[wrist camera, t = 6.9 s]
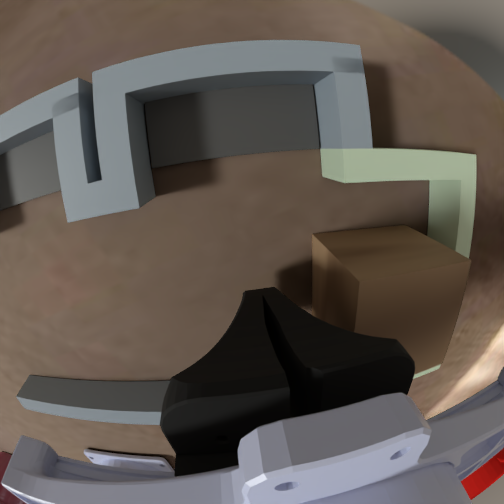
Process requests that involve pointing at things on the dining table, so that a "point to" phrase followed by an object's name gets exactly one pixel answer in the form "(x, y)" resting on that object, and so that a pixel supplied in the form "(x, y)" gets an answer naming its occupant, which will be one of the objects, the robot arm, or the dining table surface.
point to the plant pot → (0, 499)
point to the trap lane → (204, 156)
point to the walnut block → (390, 287)
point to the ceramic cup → (484, 475)
